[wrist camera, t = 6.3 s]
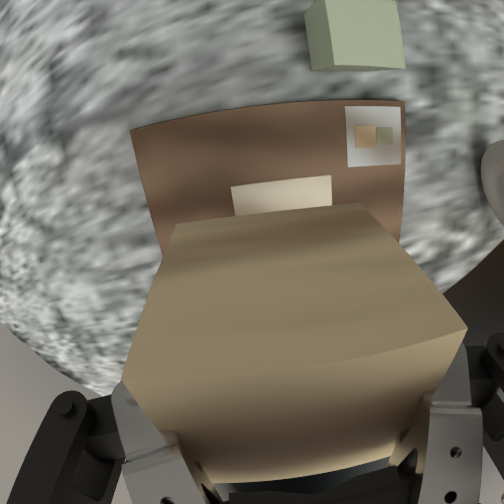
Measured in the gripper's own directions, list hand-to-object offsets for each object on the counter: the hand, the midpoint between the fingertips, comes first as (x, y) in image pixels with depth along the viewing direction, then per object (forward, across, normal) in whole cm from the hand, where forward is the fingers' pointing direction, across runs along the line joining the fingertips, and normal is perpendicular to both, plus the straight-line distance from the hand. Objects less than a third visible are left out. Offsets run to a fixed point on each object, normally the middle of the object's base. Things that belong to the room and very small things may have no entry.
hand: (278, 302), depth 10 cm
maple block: (+1, 0, 0) cm, 1 cm away
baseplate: (+16, -2, +2) cm, 16 cm away
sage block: (+16, -8, -11) cm, 21 cm away
